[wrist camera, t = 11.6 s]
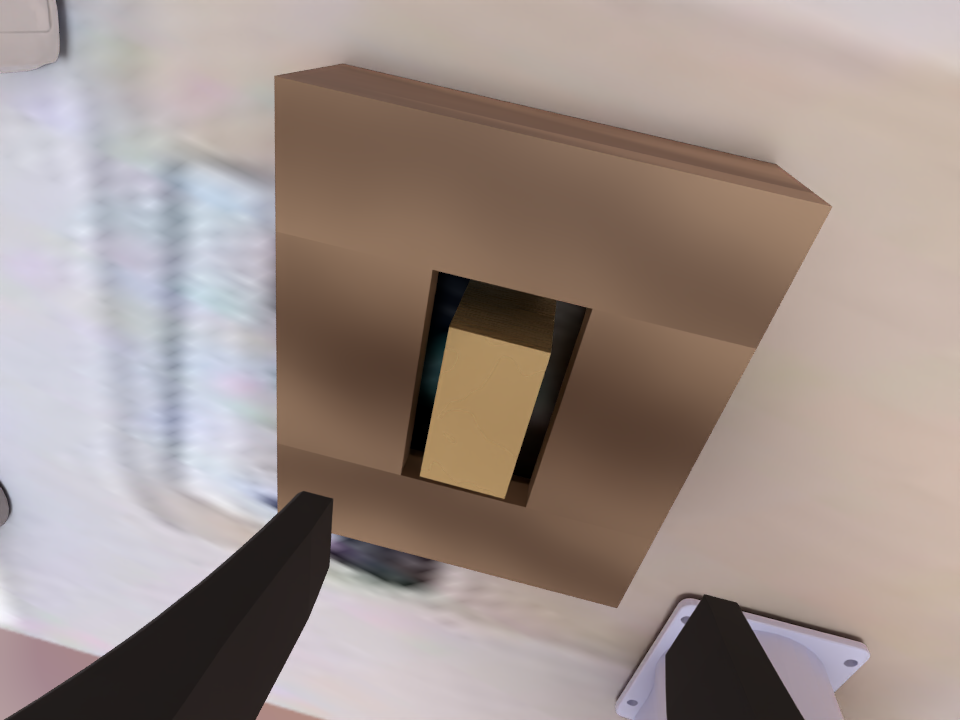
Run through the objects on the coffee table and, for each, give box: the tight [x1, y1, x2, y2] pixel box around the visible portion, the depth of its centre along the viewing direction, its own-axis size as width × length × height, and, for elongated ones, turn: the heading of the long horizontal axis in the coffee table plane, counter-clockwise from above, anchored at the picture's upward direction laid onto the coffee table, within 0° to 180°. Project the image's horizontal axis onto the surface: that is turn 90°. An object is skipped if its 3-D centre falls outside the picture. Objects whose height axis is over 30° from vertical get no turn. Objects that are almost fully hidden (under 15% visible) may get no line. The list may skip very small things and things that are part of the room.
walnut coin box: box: [275, 64, 832, 608], centre depth 17 cm, size 14×12×4 cm
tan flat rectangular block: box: [420, 279, 556, 499], centre depth 17 cm, size 5×2×5 cm, turn 169°
